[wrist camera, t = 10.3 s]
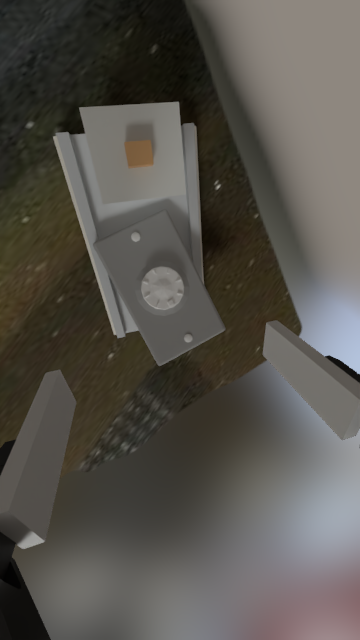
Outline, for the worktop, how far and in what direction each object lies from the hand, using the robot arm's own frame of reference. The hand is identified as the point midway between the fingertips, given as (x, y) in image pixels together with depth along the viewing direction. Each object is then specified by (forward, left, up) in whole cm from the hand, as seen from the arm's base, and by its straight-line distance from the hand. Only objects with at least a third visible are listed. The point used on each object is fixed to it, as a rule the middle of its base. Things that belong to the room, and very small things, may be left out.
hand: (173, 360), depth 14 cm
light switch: (0, +1, -15) cm, 15 cm away
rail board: (0, +4, -17) cm, 17 cm away
